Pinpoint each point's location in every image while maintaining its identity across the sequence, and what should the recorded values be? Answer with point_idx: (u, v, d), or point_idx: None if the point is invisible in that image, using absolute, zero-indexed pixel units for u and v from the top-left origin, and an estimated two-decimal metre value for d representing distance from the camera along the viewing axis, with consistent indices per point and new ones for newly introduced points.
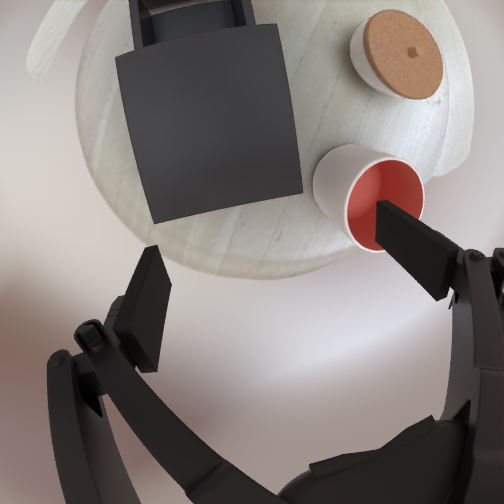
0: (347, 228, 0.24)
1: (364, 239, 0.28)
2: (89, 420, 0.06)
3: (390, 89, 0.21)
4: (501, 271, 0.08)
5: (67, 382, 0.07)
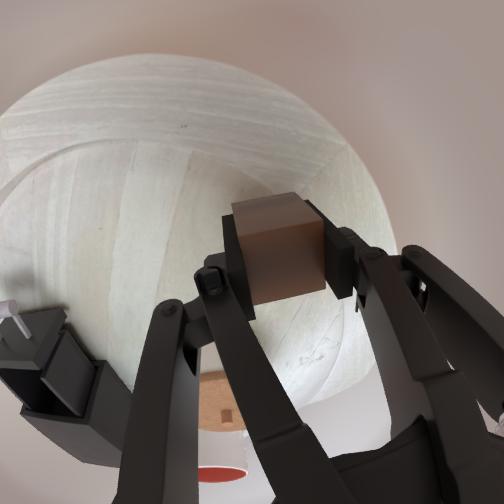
0: None
1: (212, 468, 0.32)
2: (183, 377, 0.08)
3: None
4: (418, 273, 0.09)
5: (172, 334, 0.08)
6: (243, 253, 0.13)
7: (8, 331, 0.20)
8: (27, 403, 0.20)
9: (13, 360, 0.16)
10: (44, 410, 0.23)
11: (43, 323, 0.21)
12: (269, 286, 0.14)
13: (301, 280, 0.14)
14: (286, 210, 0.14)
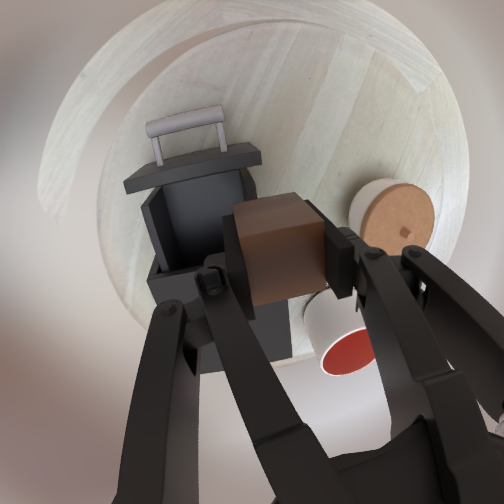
0: (322, 368, 0.34)
1: (337, 361, 0.38)
2: (183, 377, 0.08)
3: None
4: (418, 273, 0.09)
5: (172, 334, 0.08)
6: (244, 254, 0.13)
7: (170, 161, 0.25)
8: (167, 260, 0.25)
9: (217, 158, 0.21)
10: None
11: (235, 146, 0.26)
12: (270, 287, 0.14)
13: (302, 281, 0.14)
14: (286, 211, 0.14)
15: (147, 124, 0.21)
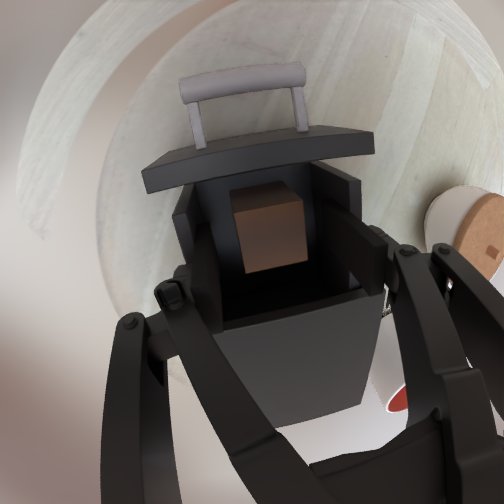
0: (386, 408, 0.24)
1: (395, 394, 0.29)
2: (150, 388, 0.07)
3: None
4: (445, 269, 0.09)
5: (136, 346, 0.08)
6: (237, 227, 0.15)
7: (215, 144, 0.16)
8: None
9: (312, 136, 0.12)
10: None
11: (310, 128, 0.17)
12: (259, 256, 0.16)
13: (286, 251, 0.16)
14: (273, 194, 0.17)
15: (182, 80, 0.12)
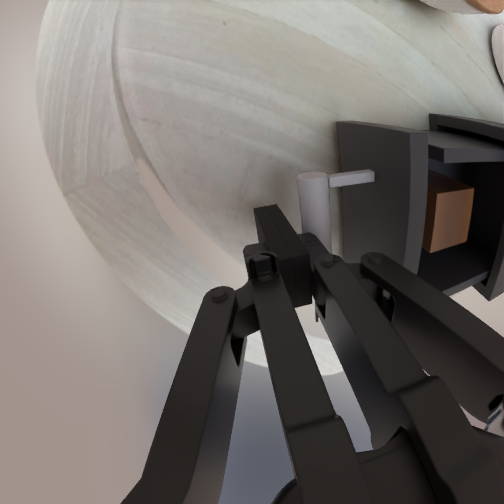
0: None
1: None
2: (227, 367, 0.08)
3: None
4: (380, 283, 0.09)
5: (222, 322, 0.09)
6: (438, 249, 0.15)
7: (362, 247, 0.17)
8: (475, 274, 0.15)
9: (408, 206, 0.11)
10: (486, 257, 0.16)
11: (354, 149, 0.15)
12: (460, 231, 0.14)
13: (464, 208, 0.13)
14: None
15: None
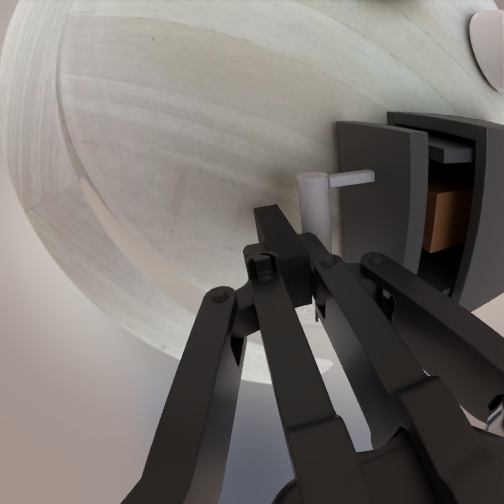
0: None
1: None
2: (227, 367, 0.08)
3: None
4: (380, 283, 0.09)
5: (222, 322, 0.09)
6: (439, 249, 0.15)
7: (362, 247, 0.17)
8: None
9: (408, 206, 0.11)
10: None
11: (354, 149, 0.15)
12: (460, 231, 0.14)
13: (464, 208, 0.13)
14: None
15: None
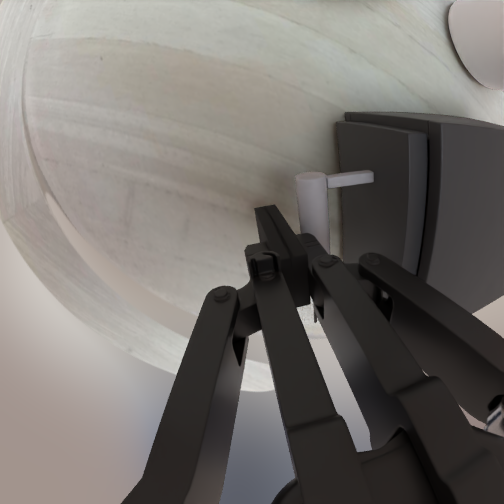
0: None
1: None
2: (229, 366, 0.08)
3: None
4: (379, 283, 0.09)
5: (224, 321, 0.09)
6: None
7: (361, 248, 0.17)
8: None
9: (407, 207, 0.11)
10: None
11: (354, 149, 0.15)
12: None
13: None
14: None
15: None
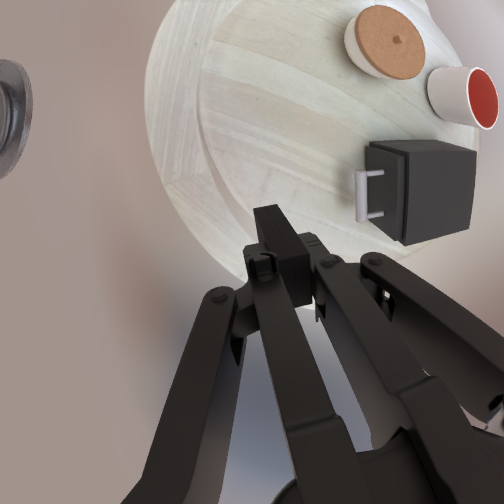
0: (490, 128, 0.25)
1: (486, 107, 0.26)
2: (227, 367, 0.08)
3: None
4: (380, 282, 0.09)
5: (222, 322, 0.09)
6: None
7: (378, 205, 0.36)
8: None
9: (397, 183, 0.29)
10: None
11: (375, 160, 0.33)
12: None
13: None
14: None
15: (359, 221, 0.35)
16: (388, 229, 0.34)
